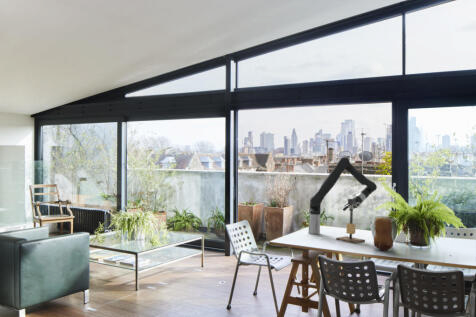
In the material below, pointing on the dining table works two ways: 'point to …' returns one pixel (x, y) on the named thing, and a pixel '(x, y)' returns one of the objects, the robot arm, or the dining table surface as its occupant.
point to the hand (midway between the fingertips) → (346, 210)
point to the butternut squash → (383, 233)
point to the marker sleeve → (350, 228)
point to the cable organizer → (401, 237)
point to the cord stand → (350, 238)
